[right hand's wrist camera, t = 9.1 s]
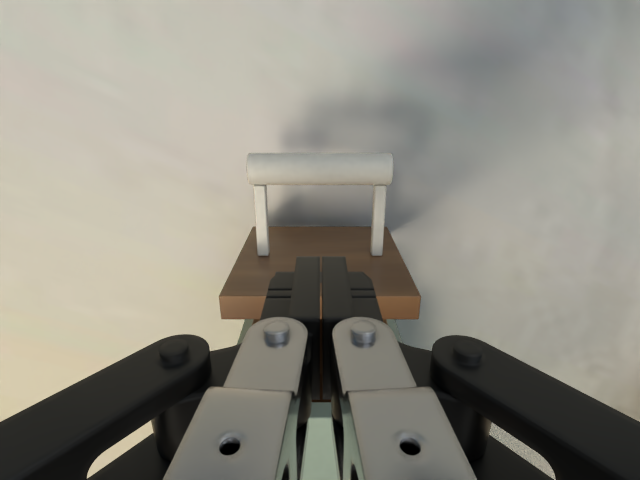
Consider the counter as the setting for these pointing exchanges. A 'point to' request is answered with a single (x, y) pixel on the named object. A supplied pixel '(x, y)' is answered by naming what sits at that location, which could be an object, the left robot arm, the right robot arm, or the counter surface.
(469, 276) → the counter surface
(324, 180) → the drawer
